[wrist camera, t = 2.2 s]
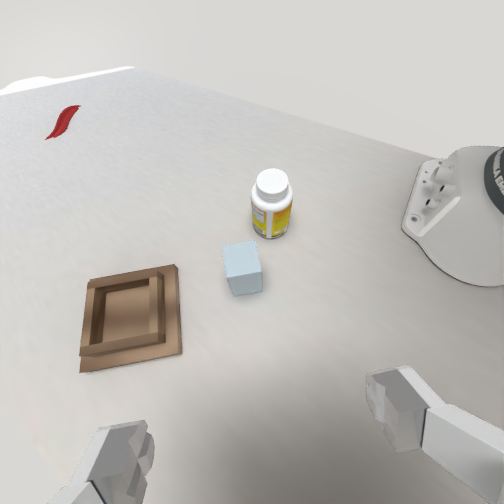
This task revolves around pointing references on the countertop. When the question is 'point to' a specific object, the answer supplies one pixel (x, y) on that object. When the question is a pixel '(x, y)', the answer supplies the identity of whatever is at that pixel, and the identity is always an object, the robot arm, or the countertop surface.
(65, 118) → the cayenne pepper
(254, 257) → the block
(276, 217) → the supplement bottle
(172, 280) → the board
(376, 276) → the countertop surface
